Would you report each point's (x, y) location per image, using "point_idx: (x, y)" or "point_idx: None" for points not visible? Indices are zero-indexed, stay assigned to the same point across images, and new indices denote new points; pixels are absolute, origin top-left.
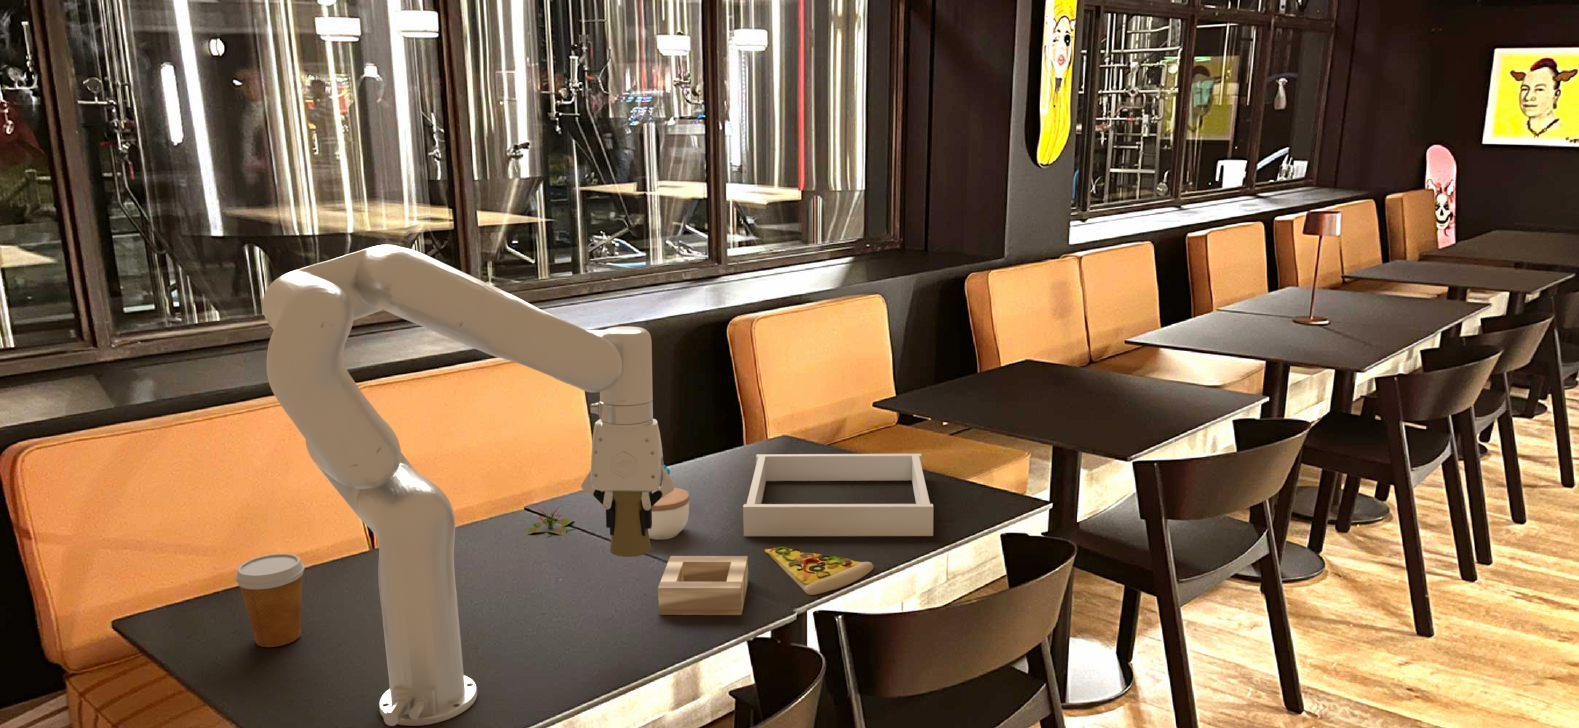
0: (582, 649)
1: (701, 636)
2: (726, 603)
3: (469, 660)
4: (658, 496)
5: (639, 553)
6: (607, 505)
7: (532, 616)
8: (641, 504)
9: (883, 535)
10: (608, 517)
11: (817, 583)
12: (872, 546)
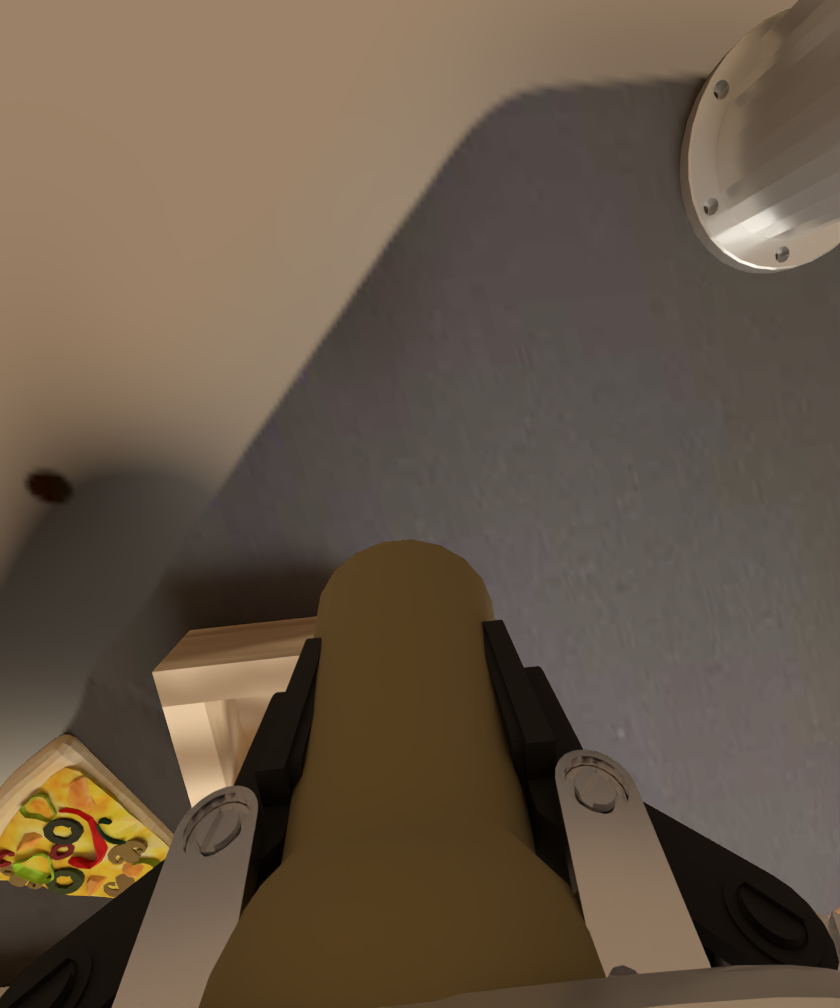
0: (497, 435)
1: (247, 523)
2: (210, 642)
3: (731, 359)
4: (29, 985)
5: (343, 568)
6: (590, 787)
7: (641, 572)
8: (283, 851)
9: (2, 993)
10: (545, 711)
11: (38, 767)
12: (16, 949)
